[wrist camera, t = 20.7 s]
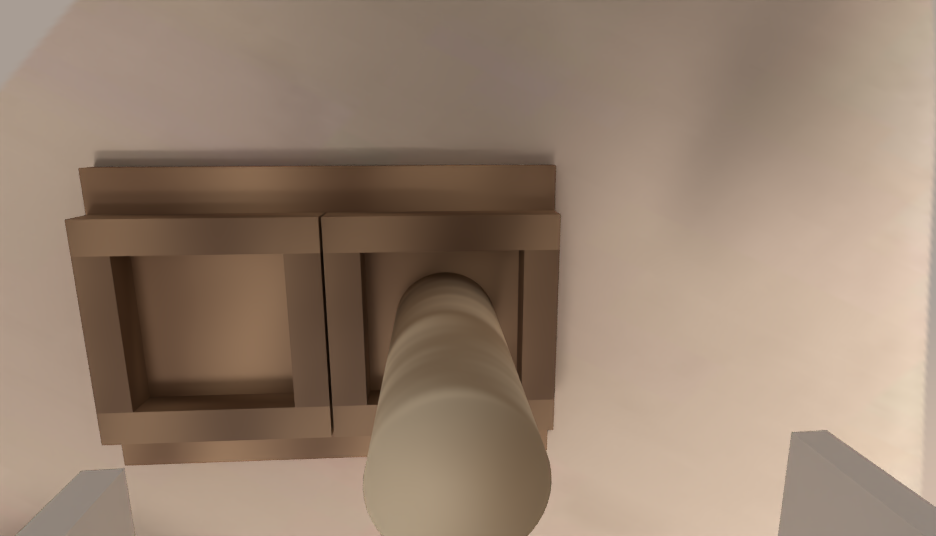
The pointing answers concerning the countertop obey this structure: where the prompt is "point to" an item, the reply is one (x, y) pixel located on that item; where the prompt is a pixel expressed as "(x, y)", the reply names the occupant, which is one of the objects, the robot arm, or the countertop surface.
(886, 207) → the countertop surface
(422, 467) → the peg
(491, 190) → the board
